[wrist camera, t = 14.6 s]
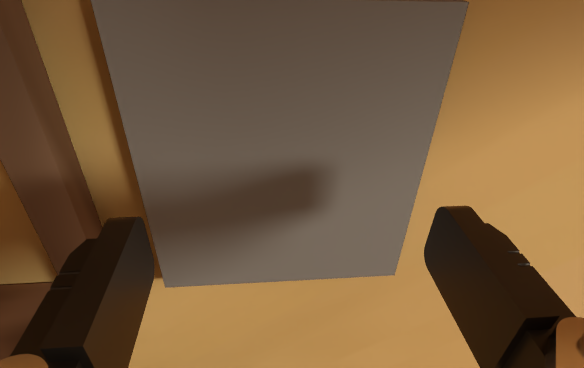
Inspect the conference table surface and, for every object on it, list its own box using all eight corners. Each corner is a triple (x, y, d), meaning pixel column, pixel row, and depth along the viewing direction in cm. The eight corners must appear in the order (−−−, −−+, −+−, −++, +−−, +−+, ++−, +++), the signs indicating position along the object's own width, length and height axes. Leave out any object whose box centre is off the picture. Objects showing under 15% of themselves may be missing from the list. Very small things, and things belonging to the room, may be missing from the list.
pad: (458, -1, 10) (469, 2, 10) (390, 265, 17) (394, 275, 16) (98, -8, 9) (89, -5, 9) (167, 276, 16) (165, 287, 15)
